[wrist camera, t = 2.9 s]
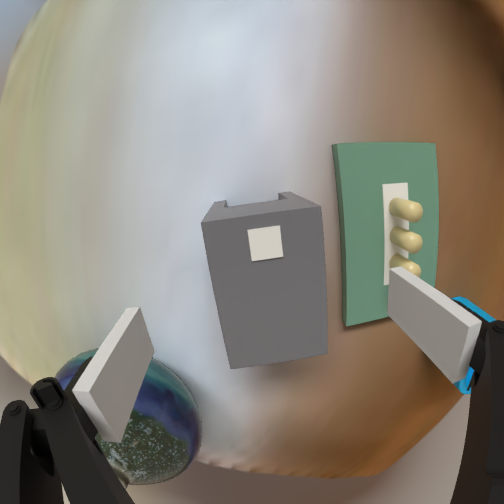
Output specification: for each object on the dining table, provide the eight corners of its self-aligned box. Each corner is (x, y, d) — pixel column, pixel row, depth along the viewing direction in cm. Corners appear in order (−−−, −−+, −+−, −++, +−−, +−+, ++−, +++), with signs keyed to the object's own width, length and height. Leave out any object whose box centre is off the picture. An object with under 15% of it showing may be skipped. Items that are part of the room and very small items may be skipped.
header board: (332, 144, 22) (351, 140, 18) (427, 143, 22) (455, 142, 18) (342, 320, 26) (357, 343, 22) (426, 299, 26) (448, 317, 22)
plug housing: (214, 202, 23) (200, 222, 14) (289, 191, 23) (321, 206, 14) (232, 304, 25) (230, 370, 17) (299, 294, 25) (327, 354, 17)
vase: (191, 438, 31) (182, 526, 18) (79, 401, 28) (41, 476, 16) (222, 351, 27) (217, 468, 14) (76, 303, 25) (1, 384, 12)
